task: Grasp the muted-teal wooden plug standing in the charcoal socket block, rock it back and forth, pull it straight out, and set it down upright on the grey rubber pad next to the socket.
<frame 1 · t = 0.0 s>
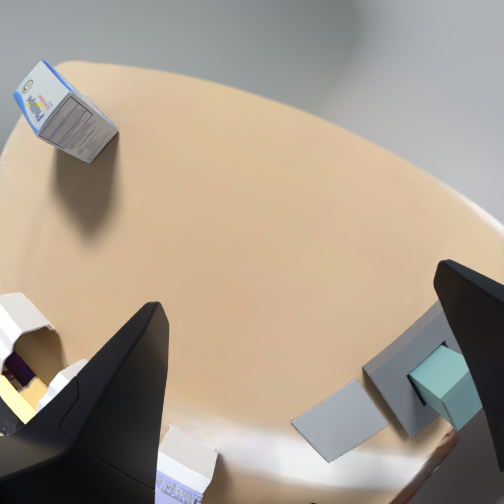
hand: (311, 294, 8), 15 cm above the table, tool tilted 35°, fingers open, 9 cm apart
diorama: (96, 400, 24), on the table
socket: (424, 368, 23), on the table
pad: (341, 422, 23), on the table
medicine box: (87, 128, 24), on the table
plug: (424, 368, 23), resting in socket
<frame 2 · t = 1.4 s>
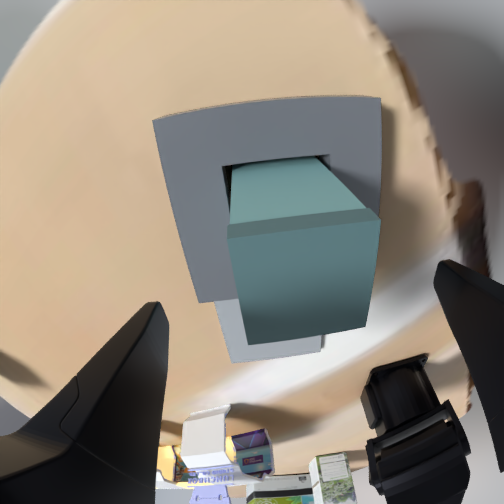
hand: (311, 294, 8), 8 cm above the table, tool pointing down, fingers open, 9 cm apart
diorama: (166, 431, 31), on the table
syrup box: (326, 457, 40), on the table
socket: (276, 193, 15), on the table
pad: (272, 324, 20), on the table
plug: (276, 193, 15), resting in socket
tea box: (283, 478, 47), on the table
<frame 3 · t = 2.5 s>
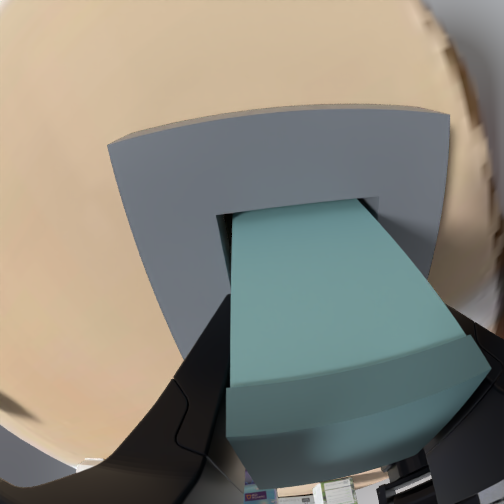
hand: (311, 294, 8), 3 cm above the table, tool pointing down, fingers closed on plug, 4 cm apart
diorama: (164, 465, 27), on the table
syrup box: (331, 481, 36), on the table
socket: (294, 242, 11), on the table
plug: (294, 242, 11), resting in socket, touching gripper
tea box: (286, 498, 43), on the table
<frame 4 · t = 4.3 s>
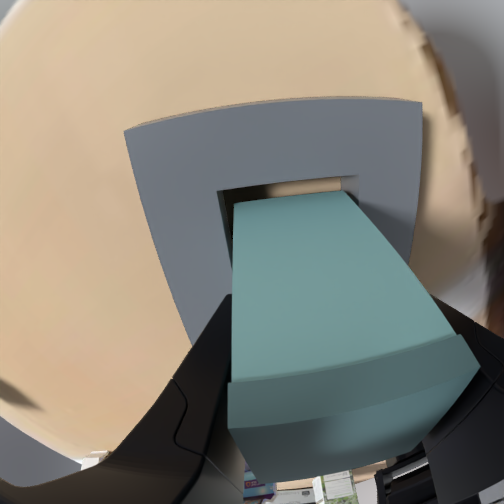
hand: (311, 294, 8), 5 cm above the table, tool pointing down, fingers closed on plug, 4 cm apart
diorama: (165, 454, 28), on the table
syrup box: (330, 473, 37), on the table
socket: (286, 220, 12), on the table
plug: (293, 244, 11), point 1 cm above the table, touching gripper, socket
tea box: (286, 491, 44), on the table
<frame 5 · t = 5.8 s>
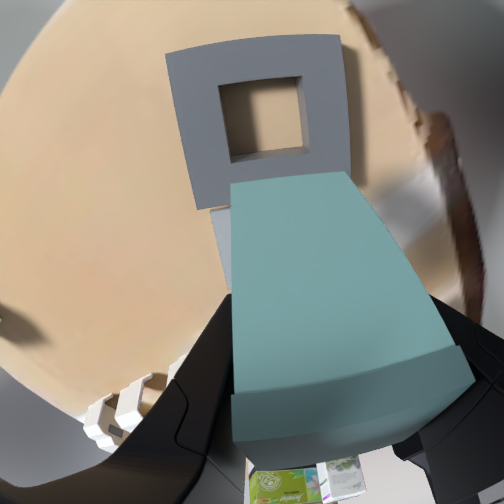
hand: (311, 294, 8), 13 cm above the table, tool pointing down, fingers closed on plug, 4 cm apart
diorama: (166, 389, 34), on the table
syrup box: (328, 424, 42), on the table
socket: (262, 115, 17), on the table
pad: (265, 244, 22), on the table
plug: (291, 224, 11), point 9 cm above the table, tilted 7°, touching gripper
tea box: (285, 452, 49), on the table
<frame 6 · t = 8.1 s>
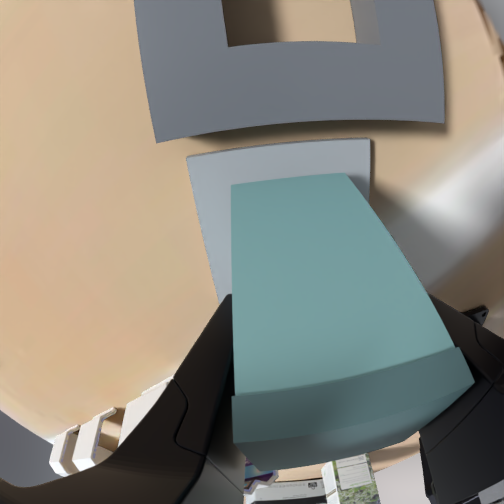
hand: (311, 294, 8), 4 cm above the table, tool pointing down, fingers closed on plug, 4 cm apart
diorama: (139, 425, 23), on the table
syrup box: (343, 459, 32), on the table
pad: (287, 225, 12), on the table
plug: (291, 225, 11), point 1 cm above the table, tilted 8°, touching gripper
tea box: (289, 484, 39), on the table
when the fingers open (4 cm above the table, at t = 8.1 s): plug stays where it is, resting on pad.
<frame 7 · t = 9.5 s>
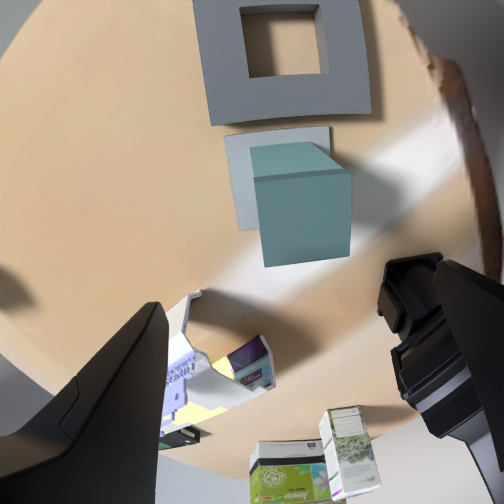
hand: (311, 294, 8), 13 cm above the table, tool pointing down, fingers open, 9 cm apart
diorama: (159, 363, 31), on the table
disk drive: (150, 425, 41), on the table
syrup box: (338, 413, 39), on the table
socket: (281, 43, 15), on the table
pad: (281, 178, 20), on the table
plug: (282, 172, 19), resting on pad
tea box: (290, 447, 46), on the table
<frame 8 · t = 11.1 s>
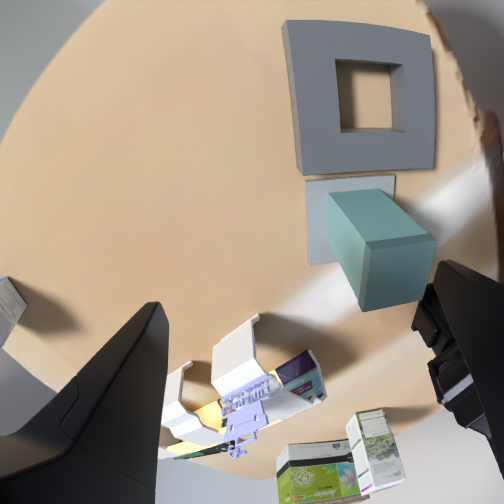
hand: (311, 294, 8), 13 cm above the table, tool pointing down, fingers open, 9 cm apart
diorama: (206, 379, 33), on the table
disk drive: (184, 434, 43), on the table
syrup box: (363, 416, 41), on the table
socket: (361, 95, 17), on the table
pad: (350, 219, 22), on the table
medicine box: (3, 295, 25), on the table
plug: (352, 215, 21), resting on pad
tea box: (314, 448, 48), on the table
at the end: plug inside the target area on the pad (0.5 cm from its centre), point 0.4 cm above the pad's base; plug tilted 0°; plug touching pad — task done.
